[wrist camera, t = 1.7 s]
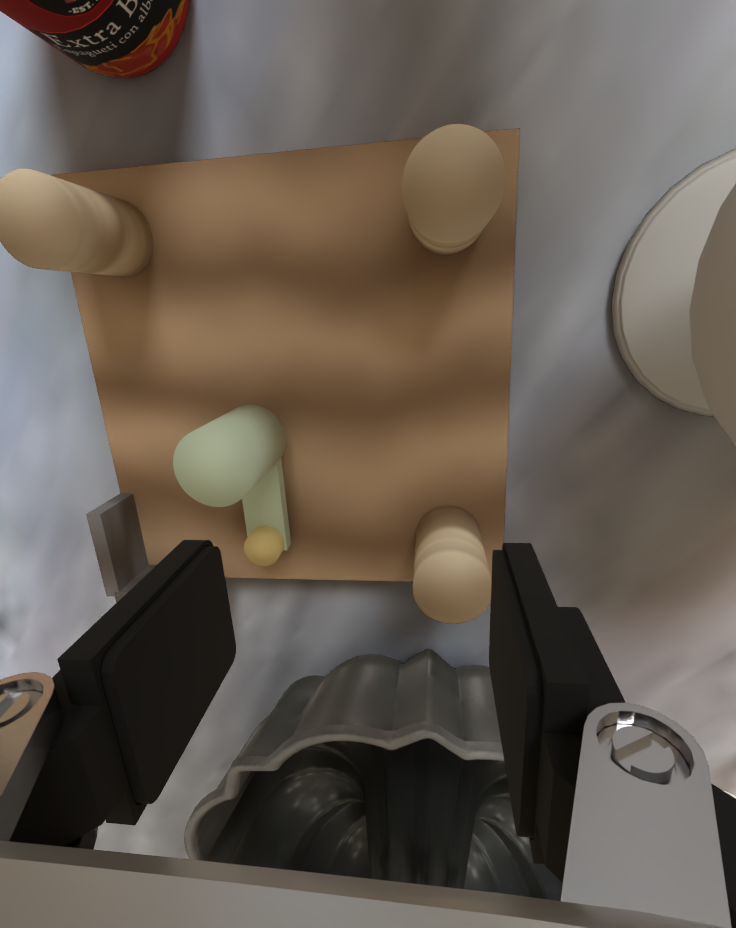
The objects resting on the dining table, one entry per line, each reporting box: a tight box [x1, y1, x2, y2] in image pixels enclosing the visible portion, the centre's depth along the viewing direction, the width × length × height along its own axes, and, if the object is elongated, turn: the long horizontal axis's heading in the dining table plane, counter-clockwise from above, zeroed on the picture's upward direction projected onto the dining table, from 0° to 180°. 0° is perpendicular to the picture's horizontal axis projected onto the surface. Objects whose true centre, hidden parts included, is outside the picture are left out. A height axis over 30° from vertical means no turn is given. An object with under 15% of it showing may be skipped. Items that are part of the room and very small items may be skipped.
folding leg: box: [173, 405, 291, 566], centre depth 24 cm, size 9×4×6 cm, turn 3°
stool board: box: [0, 124, 520, 624], centre depth 24 cm, size 22×22×8 cm
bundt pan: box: [184, 649, 563, 901], centre depth 30 cm, size 26×26×10 cm
